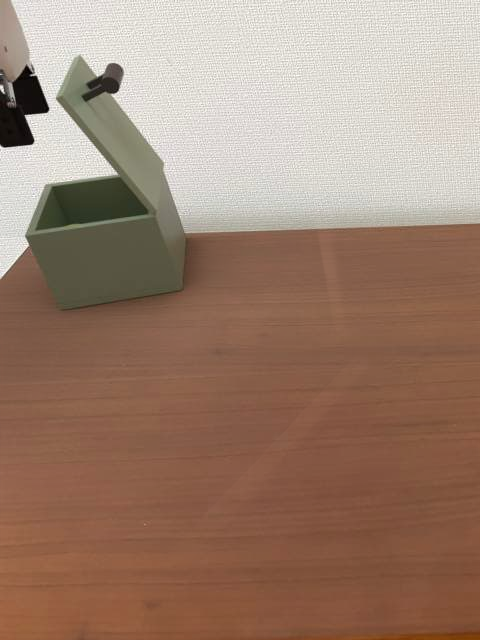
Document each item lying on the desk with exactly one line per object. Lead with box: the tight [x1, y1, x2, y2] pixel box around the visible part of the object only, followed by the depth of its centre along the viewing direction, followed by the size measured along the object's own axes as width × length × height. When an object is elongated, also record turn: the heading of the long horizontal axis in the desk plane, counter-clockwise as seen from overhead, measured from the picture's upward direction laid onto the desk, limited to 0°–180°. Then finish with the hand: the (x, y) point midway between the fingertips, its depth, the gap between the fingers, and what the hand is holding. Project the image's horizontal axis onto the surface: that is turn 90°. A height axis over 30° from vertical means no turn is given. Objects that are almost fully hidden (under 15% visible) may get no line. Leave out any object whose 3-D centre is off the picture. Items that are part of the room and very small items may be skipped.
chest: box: [24, 169, 187, 311], centre depth 100 cm, size 14×14×10 cm
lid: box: [55, 54, 165, 214], centre depth 93 cm, size 15×14×5 cm
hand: (27, 128), depth 89 cm, fingers open, 9 cm apart
